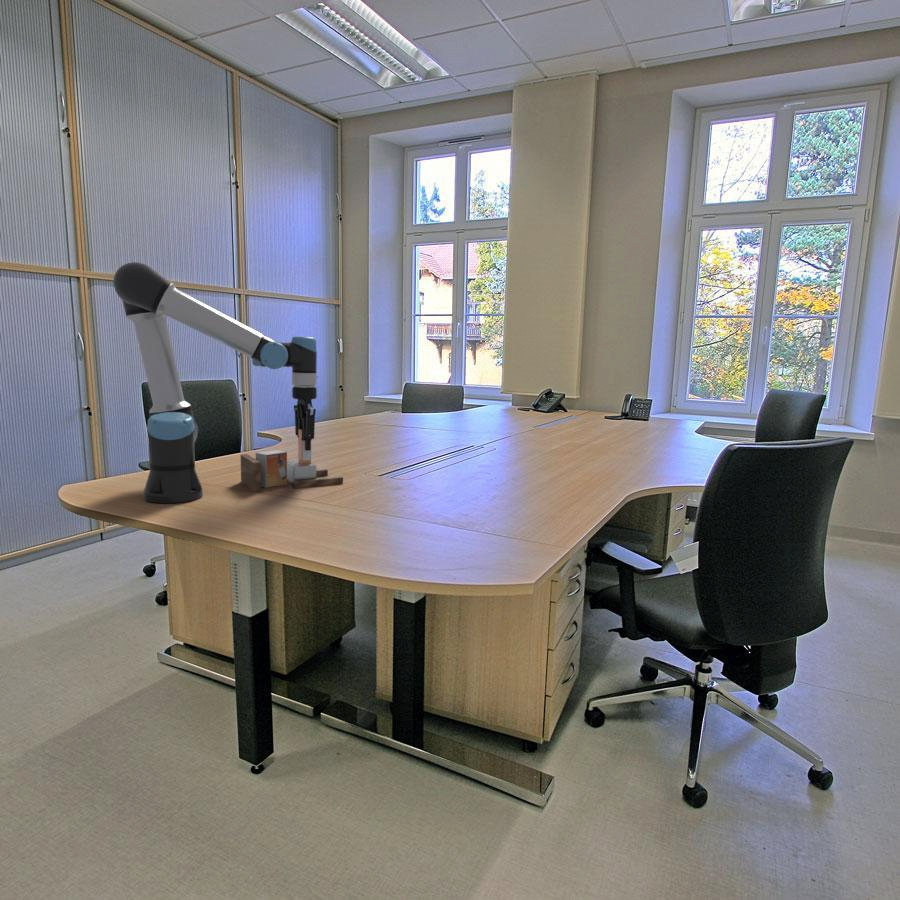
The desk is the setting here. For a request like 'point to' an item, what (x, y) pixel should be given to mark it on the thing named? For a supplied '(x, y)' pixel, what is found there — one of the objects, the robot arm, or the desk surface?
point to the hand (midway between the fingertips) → (304, 459)
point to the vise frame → (253, 481)
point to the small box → (272, 468)
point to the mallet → (300, 466)
